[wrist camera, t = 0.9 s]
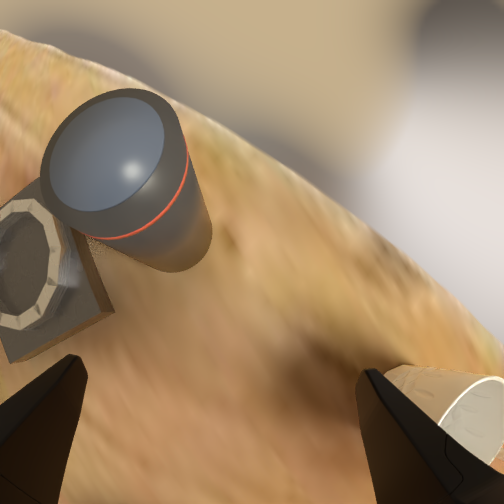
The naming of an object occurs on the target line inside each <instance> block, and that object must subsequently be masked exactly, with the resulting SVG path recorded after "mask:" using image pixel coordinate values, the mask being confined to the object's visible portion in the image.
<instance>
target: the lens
mask: <svg viewBox="0 0 504 504" xmlns="http://www.w3.org/2000/svg"><path fill="white" fill-rule="evenodd" d="M40 187H41V193H42V196H43V199H44V201H45V203H46V205H47V207H48V209H49V210H50V212H51V213H52V214H53V215H54V216H55V217H56V218H57V219H58V220H60V221H61V222H63V223H65V224H66V225H68V226H70V227H72V228H74V229H76V230H78V231H79V232H81V233H83V234H85V235H87V236H89V237H92V238H93V239H95V240H97V241H99V242H101V243H103V244H105V245H107V246H109V247H111V248H113V249H115V250H118V251H120V252H122V253H124V254H126V255H128V256H130V257H132V258H134V259H136V260H138V261H140V262H142V263H144V264H147V265H149V266H151V267H153V268H155V269H157V270H160V271H163V272H170V273H174V272H181V271H184V270H187V269H189V268H191V267H193V266H194V265H196V264H197V263H198V262H199V261H200V260H201V259H202V258H203V257H204V256H205V254H206V253H207V251H208V249H209V246H210V244H211V240H212V224H211V220H210V217H209V214H208V211H207V208H206V205H205V202H204V199H203V196H202V193H201V190H200V187H199V184H198V181H197V177H196V174H195V171H194V168H193V165H192V162H191V159H190V155H189V152H188V148H187V144H186V141H185V138H184V135H183V133H182V130H181V126H180V123H179V120H178V117H177V115H176V113H175V111H174V110H173V108H172V107H171V105H170V104H169V103H168V102H167V101H166V100H165V99H163V98H162V97H160V96H159V95H157V94H155V93H152V92H150V91H146V90H142V89H133V88H127V89H118V90H113V91H109V92H106V93H103V94H101V95H98V96H96V97H94V98H92V99H90V100H88V101H87V102H85V103H84V104H82V105H81V106H79V107H78V108H77V109H76V110H74V111H73V112H72V113H71V114H70V115H69V116H68V117H67V118H66V119H65V120H64V121H63V122H62V123H61V125H60V126H59V127H58V128H57V130H56V131H55V133H54V134H53V136H52V138H51V140H50V141H49V143H48V146H47V148H46V150H45V153H44V156H43V159H42V164H41V170H40Z"/></svg>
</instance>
